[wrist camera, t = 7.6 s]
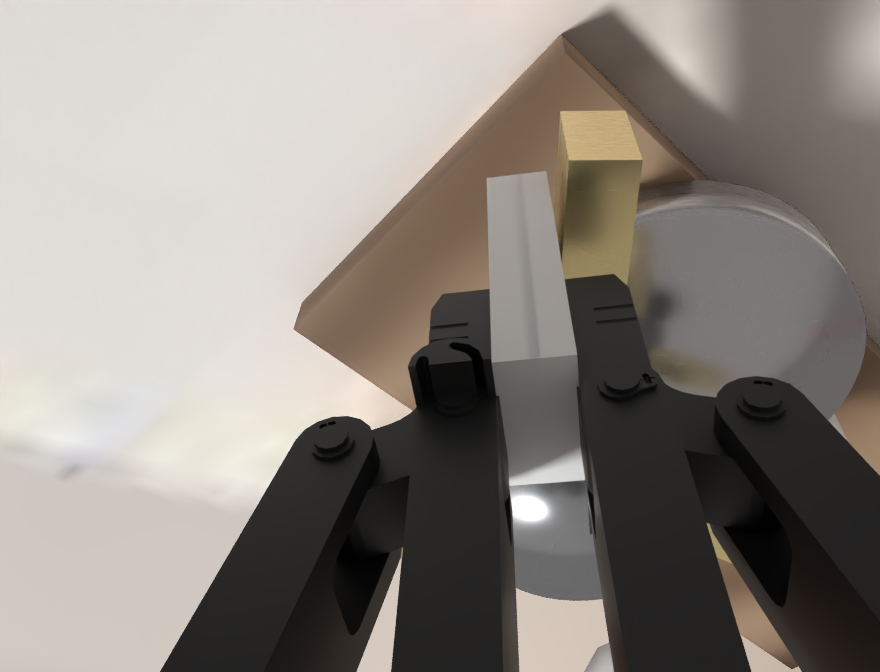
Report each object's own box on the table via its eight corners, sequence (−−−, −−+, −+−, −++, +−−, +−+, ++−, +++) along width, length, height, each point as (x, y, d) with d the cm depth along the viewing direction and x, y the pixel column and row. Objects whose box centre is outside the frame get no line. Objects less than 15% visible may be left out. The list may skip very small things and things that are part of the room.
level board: (301, 303, 28) (287, 348, 26) (561, 34, 22) (568, 65, 20) (782, 639, 38) (798, 690, 36) (1046, 511, 32) (1084, 564, 30)
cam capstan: (331, 439, 29) (285, 647, 23) (276, 57, 21) (181, 207, 15) (799, 446, 29) (892, 664, 22) (925, 49, 20) (1131, 205, 14)
